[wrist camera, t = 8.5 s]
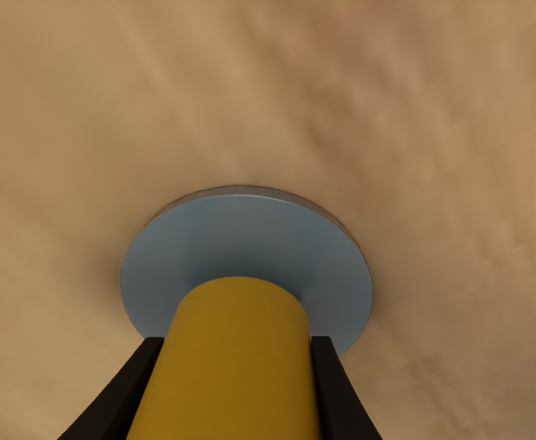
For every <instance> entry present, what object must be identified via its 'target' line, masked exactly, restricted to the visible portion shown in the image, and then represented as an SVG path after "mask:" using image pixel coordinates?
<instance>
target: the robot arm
mask: <svg viewBox="0 0 536 440" xmlns="http://www.w3.org/2000/svg"><path fill="white" fill-rule="evenodd" d="M164 341H165V340H164V337H147V338H146V339H145V340H144V341H143V342H142V344H141V345H140V346H139V347H138V349H137V350H136V351H135V352H134V353H133V355H132V356H131V357H130V358H129V360H128V361H127V362H126V363H125V365H124V366H123V367H122V368H121V369H120V371H119V372H118V373H117V374H116V375H115V377H114V378H113V379H112V380H111V381H110V382H109V384H108V385H107V386H106V387H105V388H104V389H103V391H102V392H101V393H100V394H99V395H98V396H97V397H96V399H95V400H94V401H93V402H92V403H91V404H90V405H89V406H88V407H87V408H86V410H85V411H84V412H83V413H82V414H81V415H80V416H79V417H78V418H77V419H76V420H75V421H74V423H73V424H72V425H71V426H70V427H69V428H68V429H67V430H66V431H65V432H64V433H63V434H62V435H61V436H60V437H59V438H58V439H57V440H126V438H127V435H128V433H129V430H130V428H131V425H132V423H133V420H134V417H135V415H136V412H137V410H138V407H139V405H140V402H141V400H142V397H143V395H144V392H145V390H146V387H147V384H148V382H149V379H150V377H151V374H152V372H153V369H154V367H155V364H156V362H157V359H158V357H159V354H160V351H161V349H162V346H163V344H164ZM311 349H312V358H313V366H314V374H315V381H316V389H317V398H318V406H319V415H320V423H321V432H322V440H383V439H382V438H381V436H380V434H379V433H378V431H377V429H376V428H375V426H374V424H373V423H372V421H371V419H370V418H369V416H368V414H367V412H366V411H365V409H364V407H363V405H362V404H361V402H360V400H359V398H358V396H357V394H356V392H355V390H354V389H353V387H352V385H351V383H350V381H349V379H348V377H347V375H346V373H345V371H344V368H343V366H342V364H341V362H340V360H339V357H338V355H337V353H336V350H335V348H334V345H333V342H332V339H331V338H330V337H329V336H311Z"/></svg>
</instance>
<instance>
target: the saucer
mask: <svg viewBox="0 0 536 440" xmlns="http://www.w3.org/2000/svg"><path fill="white" fill-rule="evenodd" d="M234 276H240V277H251V278H257V279H261V280H265V281H268V282H271V283H273V284H275V285H277V286H279V287H281V288H283V289H285V290H286V291H288V292H289V293H290V294H291V295H293V296H294V297H295V298H296V299H297V300H298V301H299V303H300V304H301V305H302V307H303V308H304V310H305V312H306V315H307V317H308V321H309V329H310V338H311V336H329V337H330V338H331V339H332V342H333V345H334V348H335V350H336V353H337V355H338V357H340V356H341V355H342V354H343V353H344V352H345V351H347V350H348V349H349V348H350V347H351V346H352V345H353V343H354V342H355V341H356V340H357V339H358V337H359V336H360V334H361V333H362V331H363V330H364V328H365V326H366V324H367V322H368V319H369V316H370V313H371V309H372V303H373V284H372V278H371V275H370V271H369V268H368V265H367V263H366V261H365V258H364V256H363V254H362V252H361V250H360V248H359V246H358V244H357V243H356V241H355V240H354V238H353V237H352V235H351V234H350V233H349V231H348V230H347V229H346V228H345V227H344V226H343V225H342V224H341V223H340V222H339V221H338V220H337V219H335V218H334V217H333V216H331V215H330V214H329V213H328V212H326V211H325V210H323V209H321V208H320V207H318V206H316V205H315V204H313V203H311V202H309V201H307V200H304V199H302V198H300V197H297V196H295V195H292V194H289V193H285V192H282V191H278V190H274V189H268V188H262V187H252V186H231V187H220V188H214V189H209V190H205V191H200V192H197V193H194V194H192V195H189V196H186V197H183V198H181V199H179V200H178V201H176V202H174V203H172V204H170V205H168V206H167V207H165V208H164V209H163V210H161V211H160V212H159V213H157V214H156V215H155V216H154V217H153V218H152V219H151V220H150V221H149V222H148V223H147V224H146V225H145V226H144V227H143V229H142V230H141V231H140V232H139V234H138V235H137V236H136V238H135V239H134V241H133V242H132V244H131V245H130V247H129V249H128V251H127V253H126V255H125V258H124V261H123V265H122V269H121V278H120V288H121V296H122V300H123V304H124V307H125V310H126V312H127V314H128V316H129V318H130V320H131V322H132V323H133V325H134V326H135V328H136V329H137V331H138V332H139V333H140V334H141V335H142V337H143V338H144V339H146V338H147V337H164V340H165V339H166V336H167V334H168V331H169V329H170V326H171V324H172V321H173V319H174V316H175V313H176V311H177V308H178V306H179V304H180V302H181V301H182V299H183V298H184V297H185V296H186V295H187V294H188V293H189V292H190V291H192V290H193V289H194V288H196V287H197V286H199V285H201V284H203V283H205V282H208V281H211V280H214V279H218V278H224V277H234Z"/></svg>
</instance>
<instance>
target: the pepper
mask: <svg viewBox="0 0 536 440" xmlns="http://www.w3.org/2000/svg"><path fill="white" fill-rule="evenodd" d="M126 440H322V432H321V423H320V415H319V406H318V398H317V389H316V381H315V374H314V366H313V358H312V349H311V338H310V329H309V321H308V317H307V315H306V312H305V310H304V308H303V307H302V305H301V304H300V303H299V301H298V300H297V299H296V298H295V297H294V296H293V295H291V294H290V293H289V292H288V291H286V290H285V289H283V288H281V287H279V286H277V285H275V284H273V283H271V282H268V281H265V280H261V279H257V278H251V277H240V276H234V277H224V278H218V279H214V280H211V281H208V282H205V283H203V284H201V285H199V286H197V287H196V288H194V289H193V290H192V291H190V292H189V293H188V294H187V295H186V296H185V297H184V298H183V299H182V301H181V302H180V304H179V306H178V308H177V311H176V313H175V316H174V319H173V321H172V324H171V326H170V329H169V331H168V334H167V336H166V339H165V341H164V344H163V346H162V349H161V351H160V354H159V357H158V359H157V362H156V364H155V367H154V369H153V372H152V374H151V377H150V379H149V382H148V384H147V387H146V390H145V392H144V395H143V397H142V400H141V402H140V405H139V407H138V410H137V412H136V415H135V417H134V420H133V423H132V425H131V428H130V430H129V433H128V435H127V438H126Z"/></svg>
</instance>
